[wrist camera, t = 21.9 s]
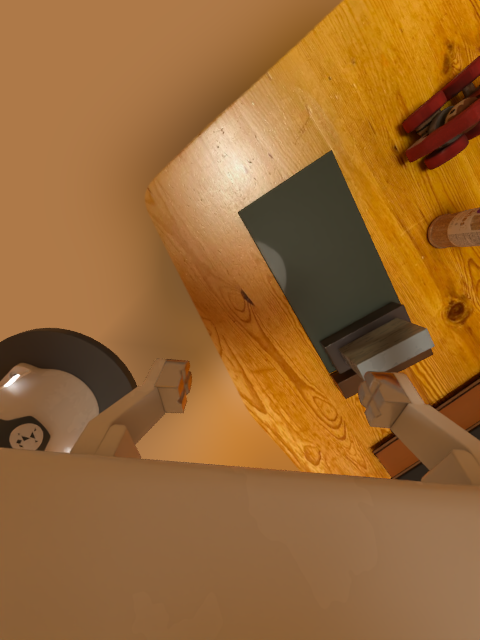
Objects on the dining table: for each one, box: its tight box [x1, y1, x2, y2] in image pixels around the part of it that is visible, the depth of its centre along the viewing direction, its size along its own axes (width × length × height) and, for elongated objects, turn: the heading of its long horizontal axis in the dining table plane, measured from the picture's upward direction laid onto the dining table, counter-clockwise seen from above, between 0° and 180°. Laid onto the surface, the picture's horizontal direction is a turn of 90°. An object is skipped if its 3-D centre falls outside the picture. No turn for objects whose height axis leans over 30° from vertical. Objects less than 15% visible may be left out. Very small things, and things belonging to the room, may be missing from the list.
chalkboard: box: [238, 150, 401, 373], centre depth 34 cm, size 14×28×1 cm, turn 31°
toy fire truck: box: [402, 56, 480, 170], centre depth 25 cm, size 7×12×10 cm, turn 130°
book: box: [373, 378, 480, 481], centre depth 38 cm, size 17×25×7 cm
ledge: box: [330, 348, 433, 399], centre depth 36 cm, size 14×3×3 cm, turn 122°
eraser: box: [320, 302, 434, 381], centre depth 32 cm, size 12×5×8 cm, turn 121°
